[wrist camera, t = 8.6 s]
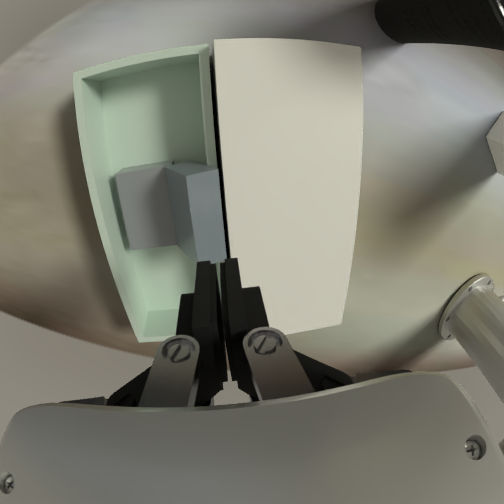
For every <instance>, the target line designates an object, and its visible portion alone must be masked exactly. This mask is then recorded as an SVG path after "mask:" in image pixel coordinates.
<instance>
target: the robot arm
mask: <svg viewBox="0 0 504 504" xmlns="http://www.w3.org/2000/svg"><path fill="white" fill-rule="evenodd" d="M220 283H221V297H220V290H219V283H218V276H217V269H216V263H214V264H211V261H210V260H209V261H199V262H197V268H196V279H195V290H194V293H187V294H181V298H180V305H179V312H178V319H177V327H176V335H175V336H172V337H169V338H168V339H166V340H164V341H163V342H162V343H161V344H160V346H159V348H158V350H157V353H156V355H155V358H154V361H153V364H152V366H151V367H149V368H148V369H146V370H145V371H144V372H142V373H141V374H140V375H138V376H137V377H135V378H134V379H133V380H131V381H130V382H128V383H127V384H126V385H124V386H123V387H121V388H120V389H119V390H117V391H116V392H114V393H113V394H112V395H111V396H110V397H109V399H105V397H104V396H102V397H95V398H88V399H80V400H72V401H63V402H59V403H46V404H38V405H34V406H30V407H27V408H24V409H22V410H20V411H19V412H17V413H16V414H15V415H14V416H13V417H12V419H11V421H10V422H9V424H8V426H7V428H6V431H5V433H4V435H3V438H2V441H1V443H0V504H504V439H503V440H502V441H501V442H500V443H499V444H498V443H497V441H496V439H495V437H494V435H493V433H492V431H491V429H490V427H489V425H488V423H487V422H486V420H485V418H484V417H483V415H482V413H481V412H480V410H479V408H478V407H477V405H476V404H475V403H474V401H473V400H472V398H471V397H470V395H469V394H468V393H467V392H466V391H465V389H464V388H463V387H462V386H461V385H460V384H459V383H458V382H457V381H456V380H455V379H453V378H452V377H450V376H448V375H445V374H441V373H436V372H412V371H409V370H396V371H384V372H369V373H356V374H355V376H348V375H347V374H345V373H344V372H342V371H340V370H337V369H335V368H333V367H330V366H328V365H326V364H323V363H321V362H319V361H317V360H314V359H312V358H310V357H308V356H306V355H303V354H301V353H299V352H297V351H295V350H293V349H292V347H291V345H290V343H289V341H288V339H287V338H286V336H285V335H284V333H283V332H281V331H280V330H278V329H275V328H272V327H269V323H268V319H267V315H266V310H265V306H264V302H263V298H262V294H261V290H260V287H259V286H256V287H247V288H242V285H241V278H240V271H239V265H238V258H229V259H225V262H223V263H220ZM493 289H494V283H493V280H492V278H491V277H490V276H488V275H487V274H480V275H477V276H475V277H473V278H472V279H470V280H469V281H468V282H466V283H465V284H464V285H463V286H462V287H461V288H460V289H459V290H458V292H457V293H456V294H455V295H454V297H453V298H452V299H451V301H450V302H449V304H448V305H447V307H446V309H445V310H444V312H443V314H442V317H441V319H440V323H439V333H440V335H441V336H442V337H443V338H444V339H445V340H452V339H455V338H456V340H457V341H458V342H459V343H460V345H461V346H462V347H463V348H464V350H465V351H466V352H467V354H468V355H469V356H470V357H471V359H472V360H473V361H474V363H475V364H476V365H477V367H478V368H479V369H480V371H481V372H482V374H483V375H484V376H485V378H486V379H487V380H488V382H489V383H490V385H491V386H492V387H493V389H494V390H495V392H496V393H497V395H498V396H499V398H500V399H501V401H502V402H503V403H504V296H500V297H498V296H497V295H496V294H495V293H494V292H493ZM225 343H226V348H225ZM226 349H227V355H228V360H229V366H230V372H231V377H232V381H237V383H238V388H239V389H241V390H242V391H244V392H246V393H247V394H249V400H250V402H248V403H239V404H228V405H217V406H214V396H215V395H216V394H217V393H218V392H219V391H220V390H223V382H227V381H228V377H227V362H226Z"/></svg>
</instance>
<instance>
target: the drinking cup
mask: <svg viewBox="0 0 504 504" xmlns="http://www.w3.org/2000/svg"><path fill="white" fill-rule="evenodd" d="M375 16H376V19H377V22H378V24H379V26H380V27H381V29H382V30H383V31H384V32H385V34H386V35H388V36H389V37H390V38H391V39H393V40H395V41H397V42H400V43H439V44H456V45H467V46H476V47H484V48H491V49H497V50H503V51H504V0H379V1H378V2H377V4H376V6H375Z"/></svg>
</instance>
